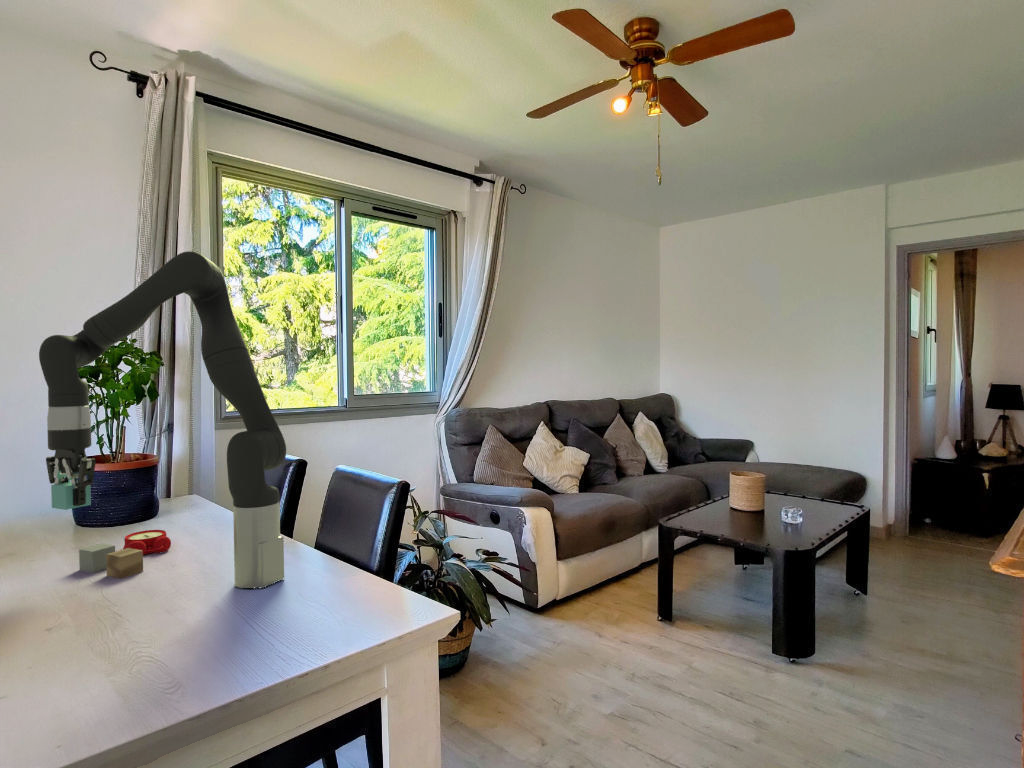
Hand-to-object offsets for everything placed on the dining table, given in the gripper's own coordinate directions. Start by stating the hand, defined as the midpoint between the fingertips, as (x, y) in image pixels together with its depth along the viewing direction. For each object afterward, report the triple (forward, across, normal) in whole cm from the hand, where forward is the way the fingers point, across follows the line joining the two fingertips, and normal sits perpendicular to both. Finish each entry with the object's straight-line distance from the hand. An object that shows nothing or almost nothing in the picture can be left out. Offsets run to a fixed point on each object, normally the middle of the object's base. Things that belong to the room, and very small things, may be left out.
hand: (71, 503), depth 124 cm
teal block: (0, 0, 0) cm, 0 cm away
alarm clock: (+18, +7, -21) cm, 29 cm away
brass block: (+17, -5, -8) cm, 20 cm away
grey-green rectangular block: (+17, +5, -8) cm, 20 cm away
